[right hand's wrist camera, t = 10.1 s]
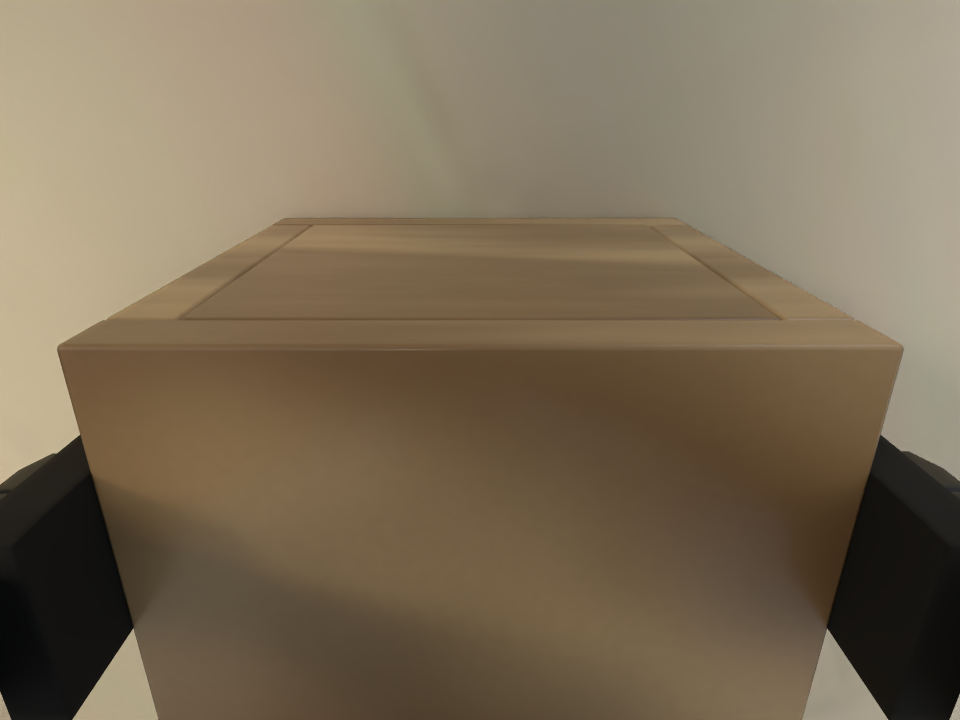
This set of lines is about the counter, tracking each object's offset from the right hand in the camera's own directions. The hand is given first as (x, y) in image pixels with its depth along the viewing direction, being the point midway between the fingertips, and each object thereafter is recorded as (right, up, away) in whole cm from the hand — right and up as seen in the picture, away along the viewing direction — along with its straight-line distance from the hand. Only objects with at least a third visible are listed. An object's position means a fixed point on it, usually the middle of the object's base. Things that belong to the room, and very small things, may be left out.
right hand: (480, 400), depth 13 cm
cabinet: (0, -3, +6) cm, 7 cm away
